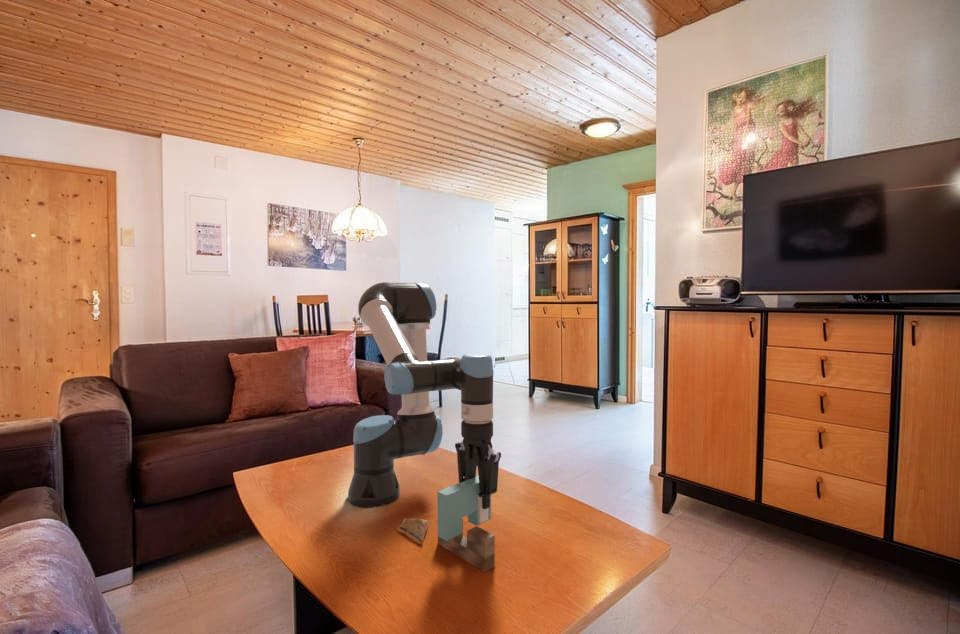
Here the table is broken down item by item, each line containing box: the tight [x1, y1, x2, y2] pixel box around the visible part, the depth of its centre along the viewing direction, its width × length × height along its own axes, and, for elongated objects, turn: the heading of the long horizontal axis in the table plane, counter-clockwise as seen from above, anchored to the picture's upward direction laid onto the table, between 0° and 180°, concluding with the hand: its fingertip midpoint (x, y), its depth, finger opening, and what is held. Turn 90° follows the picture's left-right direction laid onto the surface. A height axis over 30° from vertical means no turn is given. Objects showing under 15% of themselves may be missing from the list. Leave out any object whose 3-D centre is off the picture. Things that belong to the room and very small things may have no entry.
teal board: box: [436, 475, 492, 541], centre depth 104 cm, size 14×3×10 cm, turn 135°
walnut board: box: [437, 518, 496, 573], centre depth 104 cm, size 16×3×7 cm, turn 45°
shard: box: [397, 518, 429, 546], centre depth 114 cm, size 11×8×2 cm
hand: (477, 518), depth 107 cm, fingers closed on teal board, 3 cm apart
